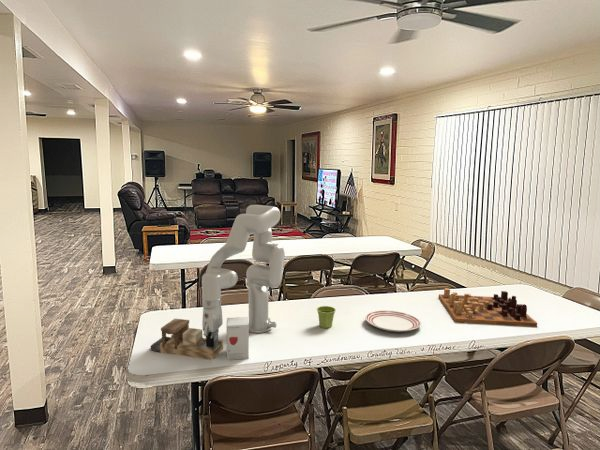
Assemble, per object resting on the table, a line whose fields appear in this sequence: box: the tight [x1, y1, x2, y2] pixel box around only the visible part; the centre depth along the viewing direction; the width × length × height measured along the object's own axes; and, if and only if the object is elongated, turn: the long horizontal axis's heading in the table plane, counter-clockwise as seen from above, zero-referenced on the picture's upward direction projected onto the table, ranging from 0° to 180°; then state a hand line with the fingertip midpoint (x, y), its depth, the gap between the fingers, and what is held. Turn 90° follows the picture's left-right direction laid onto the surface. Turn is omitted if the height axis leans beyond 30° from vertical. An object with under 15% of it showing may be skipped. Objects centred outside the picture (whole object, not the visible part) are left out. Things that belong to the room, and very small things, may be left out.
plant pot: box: [316, 305, 336, 329], centre depth 211 cm, size 9×9×9 cm
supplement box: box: [226, 316, 250, 361], centre depth 178 cm, size 9×9×15 cm
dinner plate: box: [365, 309, 422, 333], centre depth 214 cm, size 27×27×3 cm
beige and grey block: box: [183, 327, 219, 350], centre depth 180 cm, size 14×6×8 cm, turn 76°
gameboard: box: [438, 287, 538, 327], centre depth 236 cm, size 40×40×9 cm
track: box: [150, 318, 224, 361], centre depth 182 cm, size 28×11×11 cm, turn 76°
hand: (212, 344), depth 179 cm, fingers closed on beige and grey block, 3 cm apart
